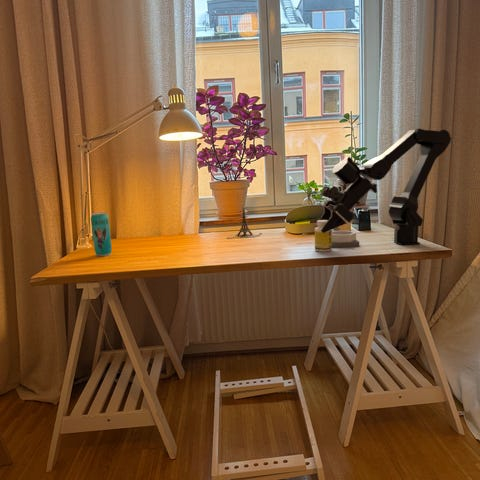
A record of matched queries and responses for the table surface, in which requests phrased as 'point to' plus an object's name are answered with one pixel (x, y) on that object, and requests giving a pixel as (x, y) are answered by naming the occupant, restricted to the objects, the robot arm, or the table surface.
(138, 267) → the table surface
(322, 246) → the supplement bottle
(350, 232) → the lens mount
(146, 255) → the table surface
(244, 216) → the eiffel tower figurine
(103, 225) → the beverage can
